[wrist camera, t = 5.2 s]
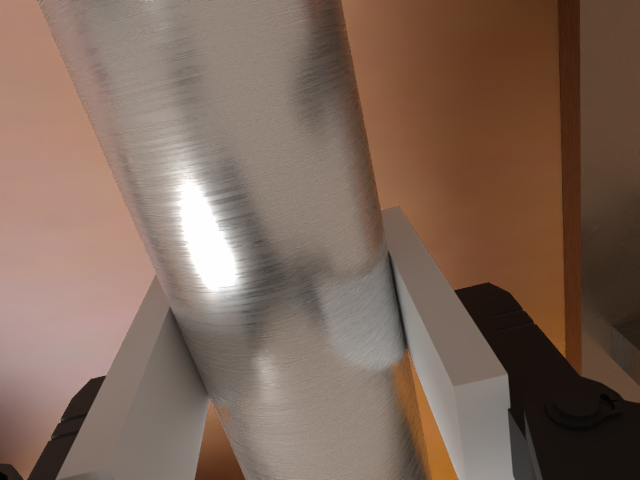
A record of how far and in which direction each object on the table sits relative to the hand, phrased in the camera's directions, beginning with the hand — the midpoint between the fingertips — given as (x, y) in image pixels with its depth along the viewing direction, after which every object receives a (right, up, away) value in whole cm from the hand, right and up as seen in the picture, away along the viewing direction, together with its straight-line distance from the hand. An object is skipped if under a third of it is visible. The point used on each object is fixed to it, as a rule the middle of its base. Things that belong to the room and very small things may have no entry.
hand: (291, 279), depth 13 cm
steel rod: (-1, 0, +1) cm, 1 cm away
